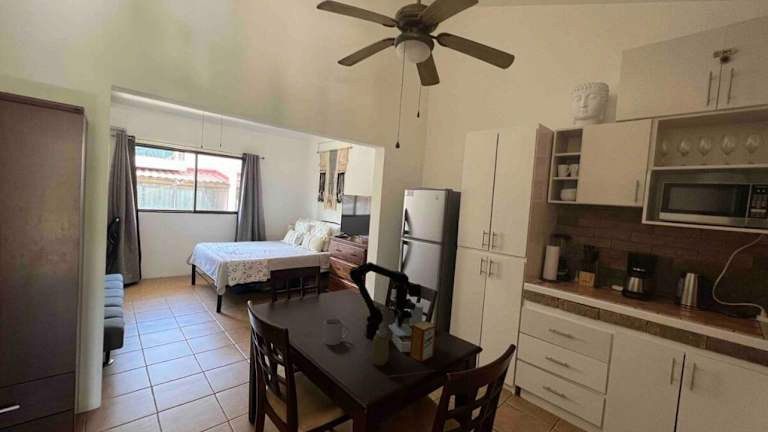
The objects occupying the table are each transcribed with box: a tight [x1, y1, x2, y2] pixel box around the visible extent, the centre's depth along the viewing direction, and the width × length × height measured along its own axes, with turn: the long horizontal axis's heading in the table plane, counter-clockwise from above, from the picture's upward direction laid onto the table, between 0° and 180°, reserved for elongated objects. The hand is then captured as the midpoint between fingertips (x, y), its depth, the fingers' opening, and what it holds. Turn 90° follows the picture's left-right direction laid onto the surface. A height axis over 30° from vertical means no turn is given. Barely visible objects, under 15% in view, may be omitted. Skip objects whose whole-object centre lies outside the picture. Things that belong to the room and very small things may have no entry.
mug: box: [323, 318, 349, 346], centre depth 154 cm, size 11×10×10 cm
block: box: [401, 336, 411, 342], centre depth 157 cm, size 4×4×3 cm
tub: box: [392, 332, 411, 353], centre depth 155 cm, size 10×12×5 cm
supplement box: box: [408, 301, 424, 328], centre depth 182 cm, size 7×7×13 cm
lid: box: [387, 317, 412, 337], centre depth 161 cm, size 10×14×5 cm
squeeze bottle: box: [370, 322, 390, 367], centre depth 137 cm, size 8×8×18 cm
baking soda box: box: [409, 320, 437, 363], centre depth 145 cm, size 10×6×16 cm
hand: (398, 325), depth 165 cm, fingers closed on lid, 3 cm apart
